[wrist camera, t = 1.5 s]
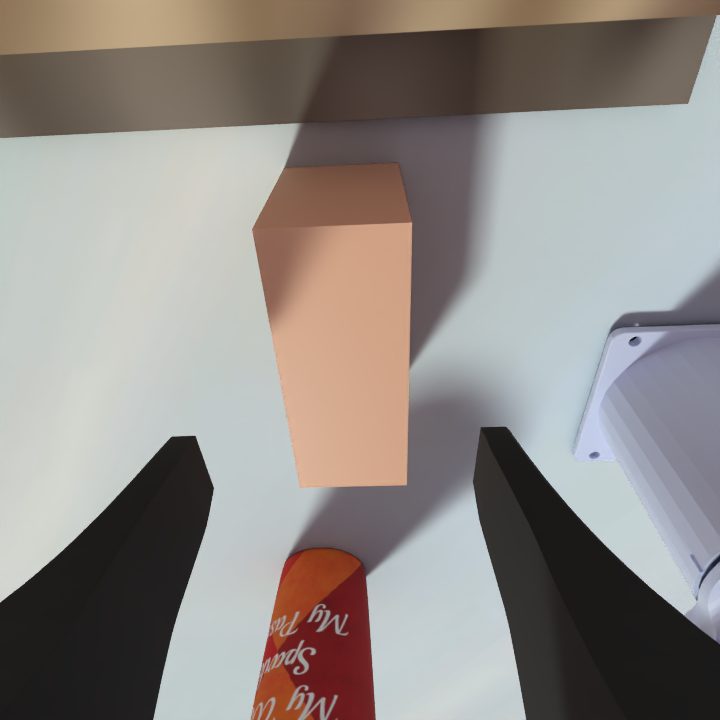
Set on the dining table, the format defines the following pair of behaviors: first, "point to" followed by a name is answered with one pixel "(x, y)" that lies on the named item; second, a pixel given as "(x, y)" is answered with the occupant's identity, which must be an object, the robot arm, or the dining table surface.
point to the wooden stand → (335, 60)
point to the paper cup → (318, 642)
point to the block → (341, 318)
